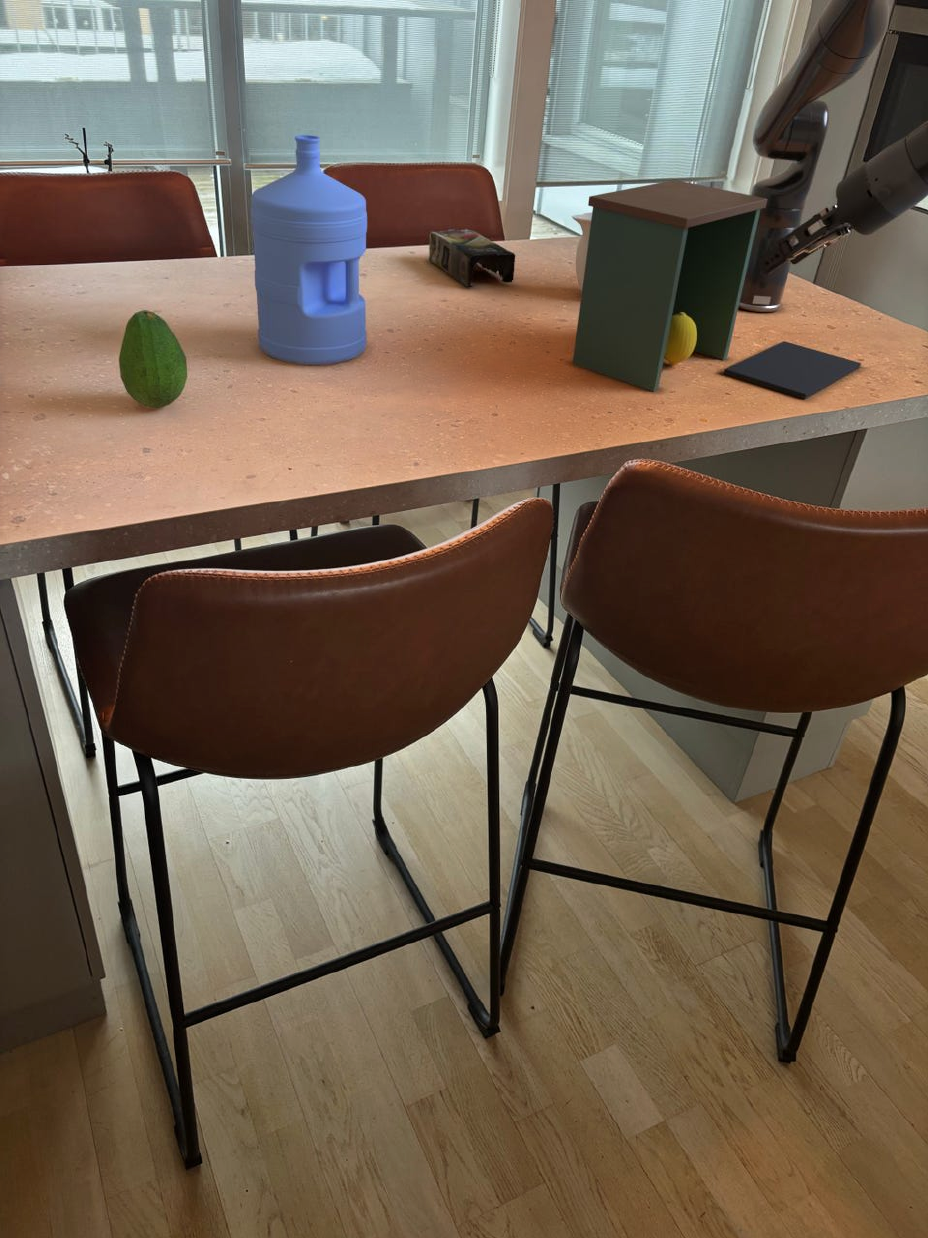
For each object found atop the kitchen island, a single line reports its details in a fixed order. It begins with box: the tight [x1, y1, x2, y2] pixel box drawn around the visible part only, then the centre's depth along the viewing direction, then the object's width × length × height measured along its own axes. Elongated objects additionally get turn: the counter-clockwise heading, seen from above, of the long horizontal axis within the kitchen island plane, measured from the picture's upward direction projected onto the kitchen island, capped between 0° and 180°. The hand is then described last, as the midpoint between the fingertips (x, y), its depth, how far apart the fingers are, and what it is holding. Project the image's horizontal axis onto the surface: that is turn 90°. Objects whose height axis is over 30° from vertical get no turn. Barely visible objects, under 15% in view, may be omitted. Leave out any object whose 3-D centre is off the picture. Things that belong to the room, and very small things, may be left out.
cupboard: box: [572, 179, 767, 393], centre depth 138 cm, size 22×15×23 cm
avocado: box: [118, 309, 188, 409], centre depth 116 cm, size 8×8×12 cm
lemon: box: [664, 312, 697, 367], centre depth 141 cm, size 6×6×8 cm
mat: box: [723, 340, 862, 400], centre depth 144 cm, size 20×13×1 cm, turn 139°
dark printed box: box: [428, 228, 516, 288], centre depth 177 cm, size 20×10×6 cm, turn 24°
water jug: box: [250, 134, 368, 366], centre depth 132 cm, size 16×16×28 cm
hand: (776, 263), depth 127 cm, fingers open, 8 cm apart
